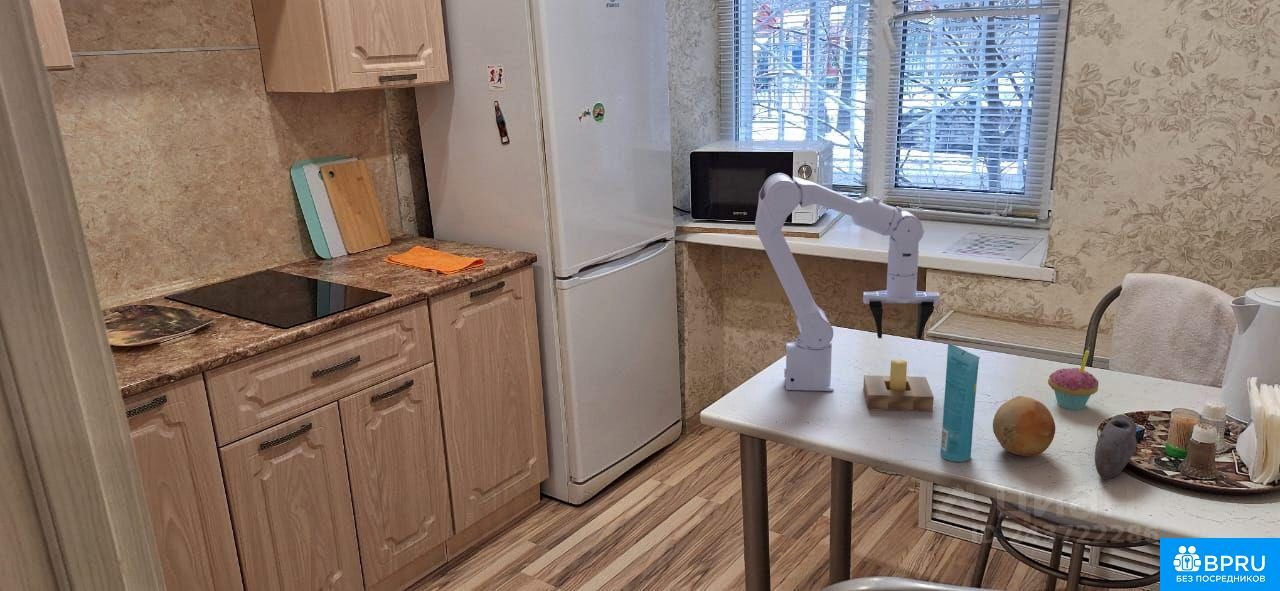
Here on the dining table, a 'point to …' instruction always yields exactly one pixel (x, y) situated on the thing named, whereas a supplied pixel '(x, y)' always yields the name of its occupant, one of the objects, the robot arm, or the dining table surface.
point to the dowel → (898, 374)
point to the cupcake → (1073, 386)
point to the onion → (1024, 426)
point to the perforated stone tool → (1115, 446)
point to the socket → (898, 394)
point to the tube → (959, 404)
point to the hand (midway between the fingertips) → (898, 337)
